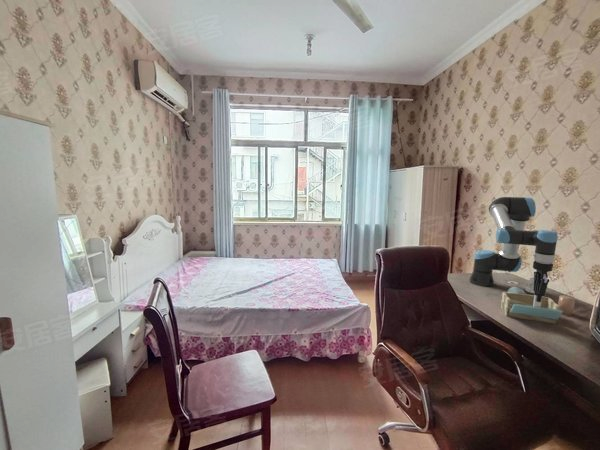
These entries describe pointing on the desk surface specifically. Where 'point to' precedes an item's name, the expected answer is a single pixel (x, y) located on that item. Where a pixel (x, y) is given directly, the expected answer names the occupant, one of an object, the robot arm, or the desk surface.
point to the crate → (524, 299)
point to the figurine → (530, 285)
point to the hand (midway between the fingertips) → (536, 306)
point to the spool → (516, 290)
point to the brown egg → (566, 304)
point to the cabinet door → (536, 311)
